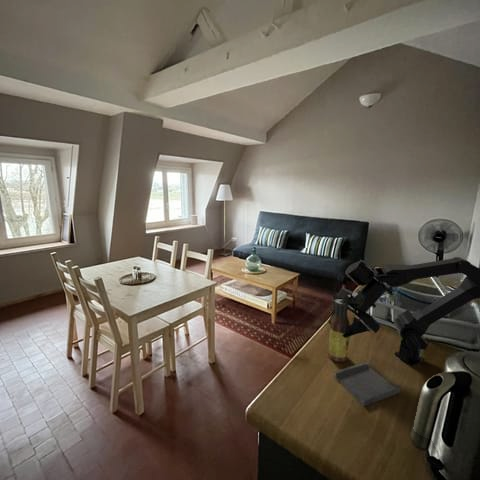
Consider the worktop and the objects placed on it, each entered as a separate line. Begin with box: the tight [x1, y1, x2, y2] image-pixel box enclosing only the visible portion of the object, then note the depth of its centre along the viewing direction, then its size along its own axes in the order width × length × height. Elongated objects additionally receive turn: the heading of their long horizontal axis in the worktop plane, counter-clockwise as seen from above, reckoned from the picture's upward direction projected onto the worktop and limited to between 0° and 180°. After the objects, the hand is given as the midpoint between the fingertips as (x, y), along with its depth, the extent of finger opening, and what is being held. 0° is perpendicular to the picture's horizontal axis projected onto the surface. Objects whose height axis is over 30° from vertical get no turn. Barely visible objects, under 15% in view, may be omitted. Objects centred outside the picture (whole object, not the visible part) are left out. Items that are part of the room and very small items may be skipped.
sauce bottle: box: [328, 299, 351, 363], centre depth 87 cm, size 6×6×20 cm
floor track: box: [333, 361, 402, 407], centre depth 76 cm, size 13×12×2 cm
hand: (336, 329), depth 86 cm, fingers open, 8 cm apart
